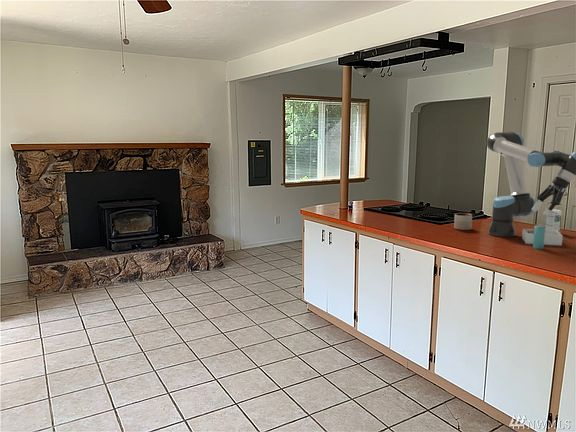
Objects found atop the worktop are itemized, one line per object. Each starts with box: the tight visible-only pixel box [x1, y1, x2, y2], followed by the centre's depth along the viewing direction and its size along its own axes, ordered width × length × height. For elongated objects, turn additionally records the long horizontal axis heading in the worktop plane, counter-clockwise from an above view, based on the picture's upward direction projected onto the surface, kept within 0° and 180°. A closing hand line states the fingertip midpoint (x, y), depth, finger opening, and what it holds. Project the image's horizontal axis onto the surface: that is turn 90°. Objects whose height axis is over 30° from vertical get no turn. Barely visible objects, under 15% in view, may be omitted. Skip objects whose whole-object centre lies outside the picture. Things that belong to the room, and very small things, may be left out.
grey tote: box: [521, 228, 564, 247], centre depth 246 cm, size 18×14×6 cm
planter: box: [453, 212, 473, 231], centre depth 285 cm, size 11×11×10 cm
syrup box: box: [545, 208, 563, 234], centre depth 267 cm, size 6×6×14 cm
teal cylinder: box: [532, 224, 546, 250], centre depth 233 cm, size 5×5×12 cm
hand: (539, 212), depth 237 cm, fingers open, 13 cm apart
